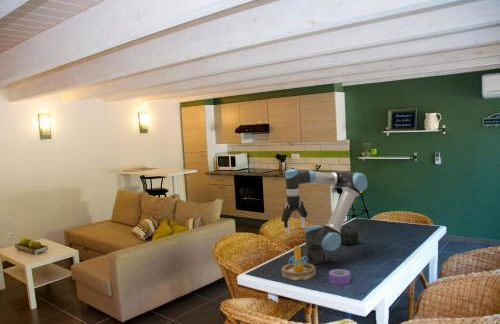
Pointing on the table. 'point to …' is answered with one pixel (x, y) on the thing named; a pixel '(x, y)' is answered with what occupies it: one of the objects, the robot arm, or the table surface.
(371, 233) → the table surface
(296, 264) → the orange upright piece
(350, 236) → the squash
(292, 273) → the round brown basket
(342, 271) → the tape roll
